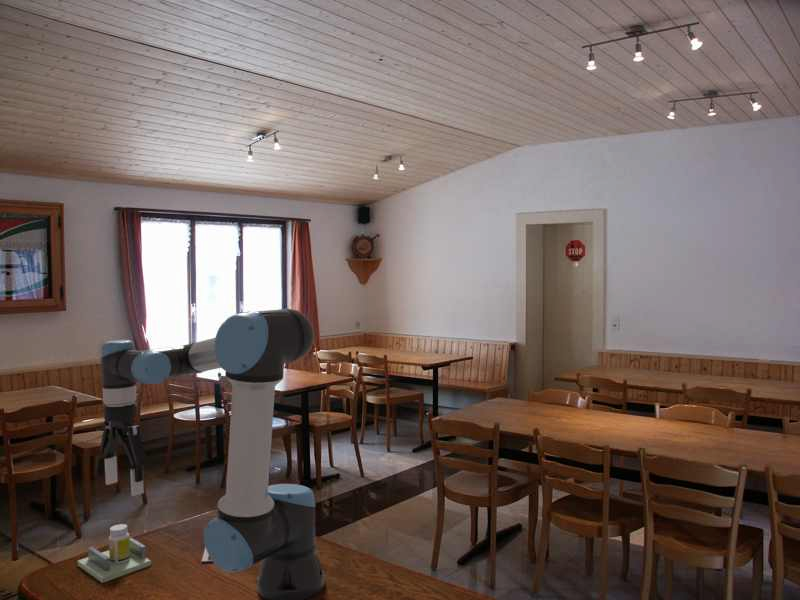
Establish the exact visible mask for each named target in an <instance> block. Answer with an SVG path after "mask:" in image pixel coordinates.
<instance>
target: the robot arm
mask: <svg viewBox="0 0 800 600" xmlns="http://www.w3.org/2000/svg"><path fill="white" fill-rule="evenodd" d="M314 343H315V329H314V326H313V324H312V322H311V320H310V319H309V317H307V316H306V315H305V314H304V313H303V312H301V311H299V310H297V309H292V308H280V309H271V310H270V309H269V310H268V309H267V310H257V311H256V310H255V311H254V310H253V311H250V310H249V311H245V312H243V313H236V314H233V315H230V316H229V317H228V318H227V319H226V320H225V321H223V322H222V323H221V324H220V326H219V328H218V330H217V332H216V335H215V337H212V338H209V339H205V340H201V341H197V342H196V341H195V342H192V343H188V344H184V345H177V346H170V347H161V348H154V349H145V350H140V349H139V350H138V349H137V350H136V349H135V343H134V342H133V341H132V340H129V339H120V340H119V339H118V340H110V341H106V342H103V343H102V344H101V346H100V347H101V349H100V350H101V352H100V353H101V357H100V363H101V376H102V402H103V404H104V406H103V419H104V421H103V432H102V436H101V442H100V446H99V454H100V455H102V458H103V459H104V475H105V485H107V486H109V485H111V484H117V483H118V462H117V450H118V448H119V444H120V445H121V446H122V447H124V451H125V452H126V455H127V457H128V460H129V462H130V465H131V466H130V467H129V471H130V490H131V491H130V492H131V496H132V497H134V496H139V495H141V494H144V493H145V490H144V489H145V488H144V471H143V468H144V467H145V466H148V465H149V463H148V458H147V454H146V452H145V448H144V444H143V440H142V436H141V429H140V425H133V423H132V422H133V420H135V419H136V418H137V417H138V403H136V401H137V391H138V387H137V383H141V384H145V385H151V384H159V383H160V384H161V383H163V382H164V381H165V380H167V379H173V378H177V377H182V376H188V375H189V376H190V375H197V374H202V373H205V372H207V371H212V370H218V369H222V370H223V371H225V378H226V379H227V380H228V381H229V383H230V384H231V386H232V387H231V388H232V389H231V403H230V404H231V405H230V422H229V435H228V436H229V437H228V439H229V440H228V454H227V470H226V471H227V472H226V484H225V486H226V489H225V495H223V496H222V497H221V498H220V499H219V500H218V502H217V511H216V518H212V519H211V520H209V522H208V523H207V524H206V526H205V528H204V531H203V542H204V545H205V547H206V550H207V552H208V554H209V557H210V558H211V559H210V560H212V561H211V562H213V563H214V564H215V565H216V566H217V567H218V568H219V569H220V570H222V571H224V572H227V573H230V574H231V573H233V574H235V573H238V572H241V571H243V570H246V569H251V567H252V566H253V565H256V564H257V563H259V562H261V561H262V562H261V566H260V570H259V573H258V576H257V579H256V580H257V582H256V583H257V584H256V585H257V586H256V587H257V588H256V589H257V593H258V595H259V596H261V598H262V599H263V598H264V599H265V600H306V599H309V598H311V597H313V596H316V595H317V594H318V593H320V592H321V590H322V589H323V588H324V585H325V574H324V570H323V567H322V565H321V562H320V559H319V556H318V553H317V550H316V546H317V545H316V504H315V493H314V491H313V489H311V488H309V487H307V486H305V485H303V484H296V483H279V484H278V483H277V484H271V485H269V482H270V481H269V479H270V465H271V454H272V453H271V450H272V438H273V437H272V436H273V423H274V422H273V421H274V407H275V393H276V386H277V385H278V384H279V383H281V382H282V381H283V380H284V373H285V372H284V371H285V369H284V368H285V365H286V364H290V363H291V364H292V363H294V362H296V361H300V360H301V359H303V358H304V357H305V356H307V355H308V354H309V352H310V351H311V350H312V347H313V345H314ZM205 547H204V548H205Z"/></svg>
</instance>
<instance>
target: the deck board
mask: <svg viewBox="0 0 800 600" xmlns="http://www.w3.org/2000/svg"><path fill="white" fill-rule="evenodd" d="M101 553H103V554H104V555H106V556H107V557H109V558H110V556H109V549H108V550H105V551H102V552H101ZM77 566H78V567H80V568H81V569H82V570H83V571H85V572H86V573H87V574H89V575H91V577H93V578H95V579H96V580H97V581H99V582H100V583H101V584H103V583H106V582H109V581H112V580H115V579H117V578H119V577H123V576H126V575H129V574H131V573H134V572H136V571H139V570H142V569H144V568H147V567H150V566H152V561H151V559H149V558H148V557H146V558H144V559H141V558H140V557H138V556H136V555H135V554H133V553H131V552H130V559H129V560H128V561H127V562H125V563H121V564H112V563H110V571H107V572H106V571H104V570H103V569H101V568H100V567H98V566H97V565H95V564H94V563H92V562H91V561H90V560H88V556H86V557H84V558H82V559H78V560H77Z"/></svg>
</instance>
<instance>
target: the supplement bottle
mask: <svg viewBox="0 0 800 600" xmlns="http://www.w3.org/2000/svg"><path fill="white" fill-rule="evenodd" d="M109 534H110V535H109V536H108V550H109V556H110V563H112V564H121V563H125V562H127V561H128V560H129V559H130V537H131V536H130V533H129V532H128V525H127V524H124V523H120V524H115V525H112V526H111V527H110V528H109Z"/></svg>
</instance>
